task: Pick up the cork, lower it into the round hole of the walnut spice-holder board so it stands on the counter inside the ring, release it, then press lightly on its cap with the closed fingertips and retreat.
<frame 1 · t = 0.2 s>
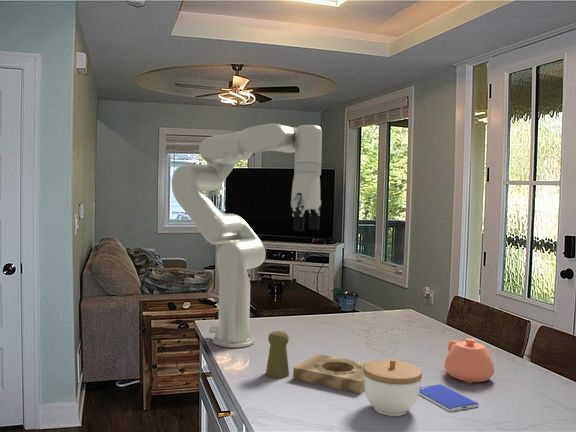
hand: (306, 230, 156), 36 cm above the kitchen island, tool pointing down, fingers open, 9 cm apart
lidded bowl: (390, 410, 121), on the kitchen island
holder board: (337, 378, 140), on the kitchen island
hard drive: (445, 402, 128), on the kitchen island
sugar bowl: (466, 377, 144), on the kitchen island
cork: (277, 375, 142), on the kitchen island
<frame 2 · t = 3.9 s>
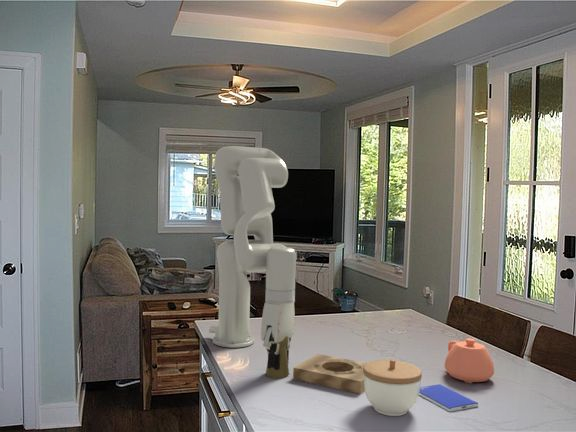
hand: (278, 365, 141), 2 cm above the kitchen island, tool pointing down, fingers closed on cork, 3 cm apart
cork: (277, 375, 142), on the kitchen island, touching gripper
everything else where it was.
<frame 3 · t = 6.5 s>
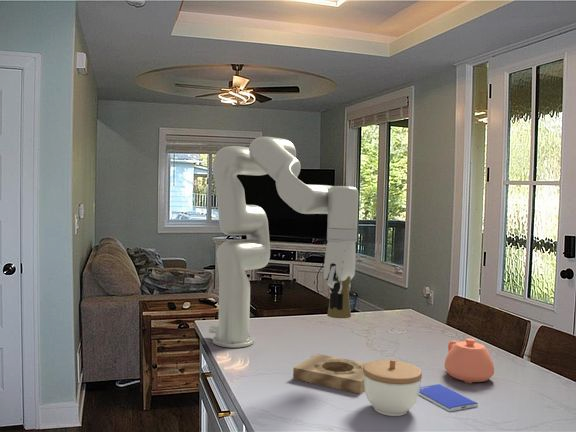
hand: (339, 306, 139), 18 cm above the kitchen island, tool pointing down, fingers closed on cork, 3 cm apart
cork: (339, 316, 139), point 16 cm above the kitchen island, touching gripper
everything else where it was.
when the fingers open (4 cm above the kitchen island, at t = 9.4 s): cork drops 1 cm, resting in holder board.
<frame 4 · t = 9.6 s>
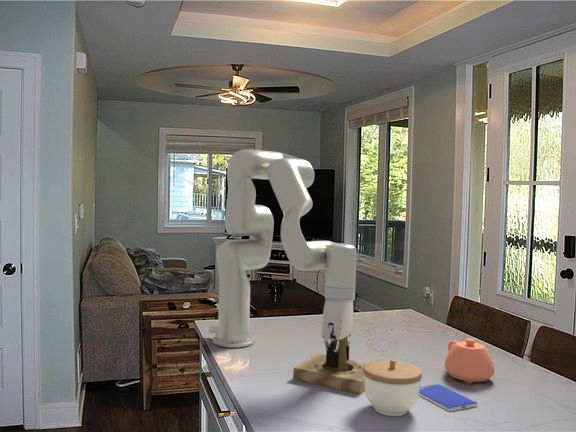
hand: (337, 362, 140), 4 cm above the kitchen island, tool pointing down, fingers open, 6 cm apart
cork: (336, 378, 140), resting in holder board
everything else where it was.
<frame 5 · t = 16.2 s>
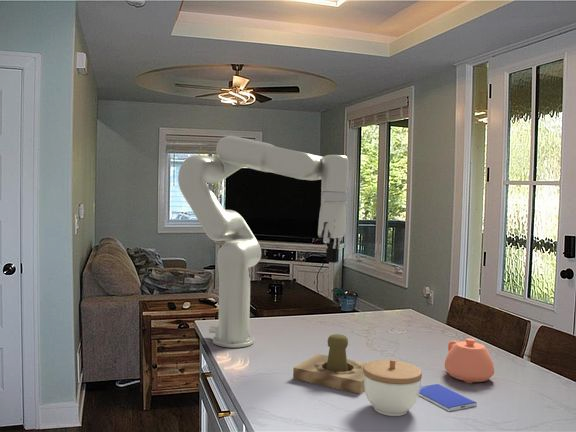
hand: (332, 262, 158), 27 cm above the kitchen island, tool pointing down, fingers closed
nothing on the kitchen island moved.
at the end: cork 0.4 cm off-centre on the holder board, point 0.0 cm above the holder board's base; cork tilted 0°; the gripper is holding nothing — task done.
